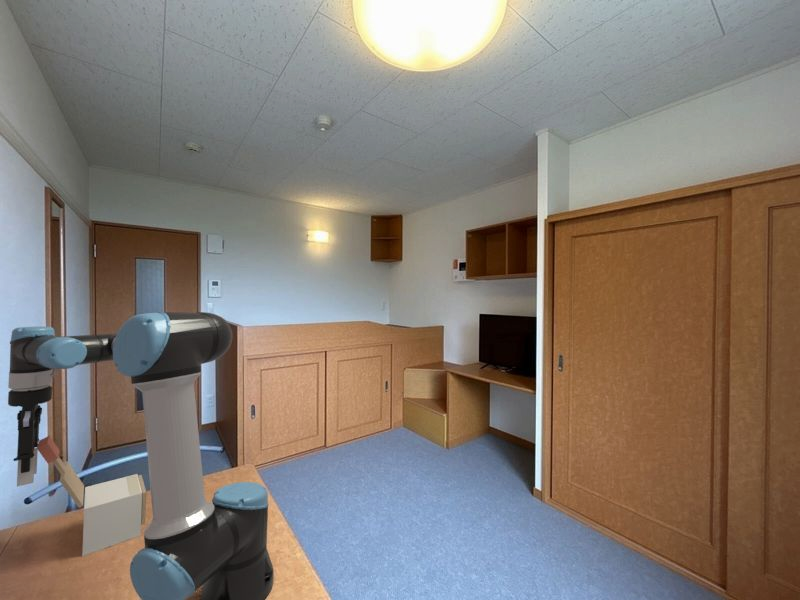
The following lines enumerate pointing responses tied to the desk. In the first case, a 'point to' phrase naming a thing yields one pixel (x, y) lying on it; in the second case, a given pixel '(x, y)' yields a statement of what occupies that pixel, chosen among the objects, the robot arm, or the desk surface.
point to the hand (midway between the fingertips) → (27, 479)
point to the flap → (62, 470)
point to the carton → (113, 512)
